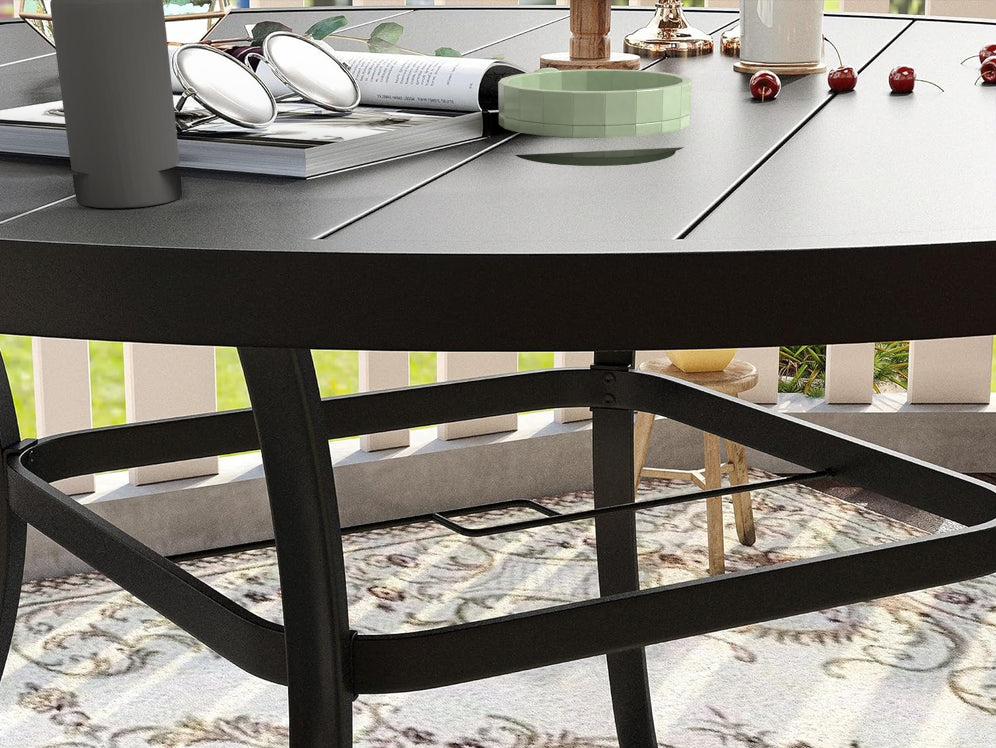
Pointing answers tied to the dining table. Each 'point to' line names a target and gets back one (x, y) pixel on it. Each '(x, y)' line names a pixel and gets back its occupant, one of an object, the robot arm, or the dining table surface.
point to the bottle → (117, 101)
